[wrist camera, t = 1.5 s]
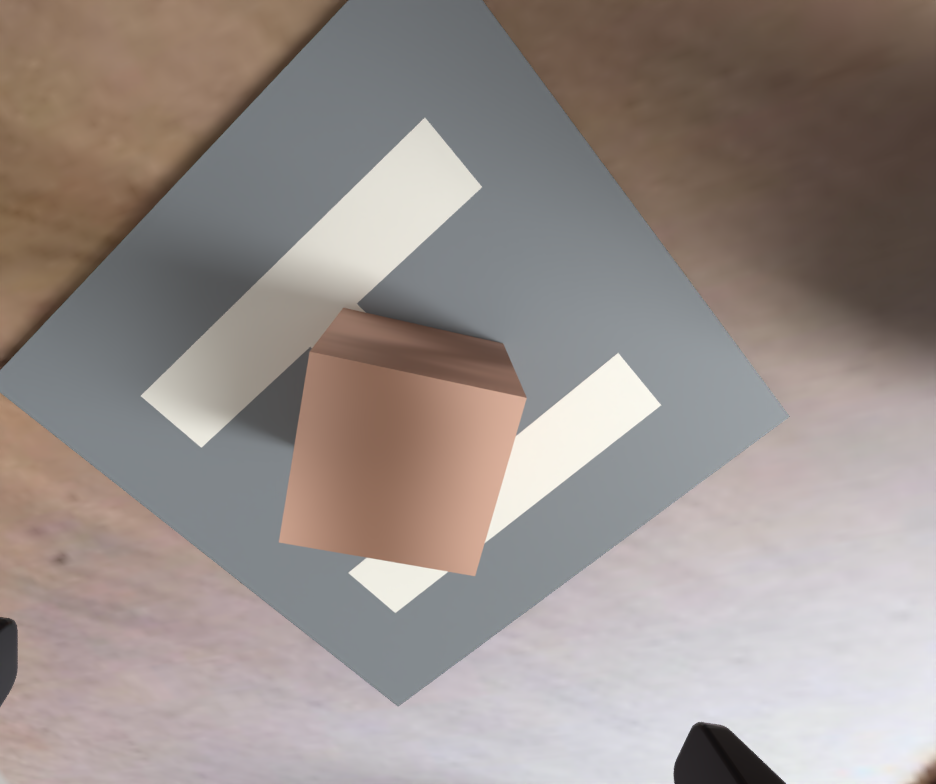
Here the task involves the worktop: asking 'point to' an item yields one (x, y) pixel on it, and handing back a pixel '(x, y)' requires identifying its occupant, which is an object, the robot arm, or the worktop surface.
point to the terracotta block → (401, 443)
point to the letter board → (402, 298)
